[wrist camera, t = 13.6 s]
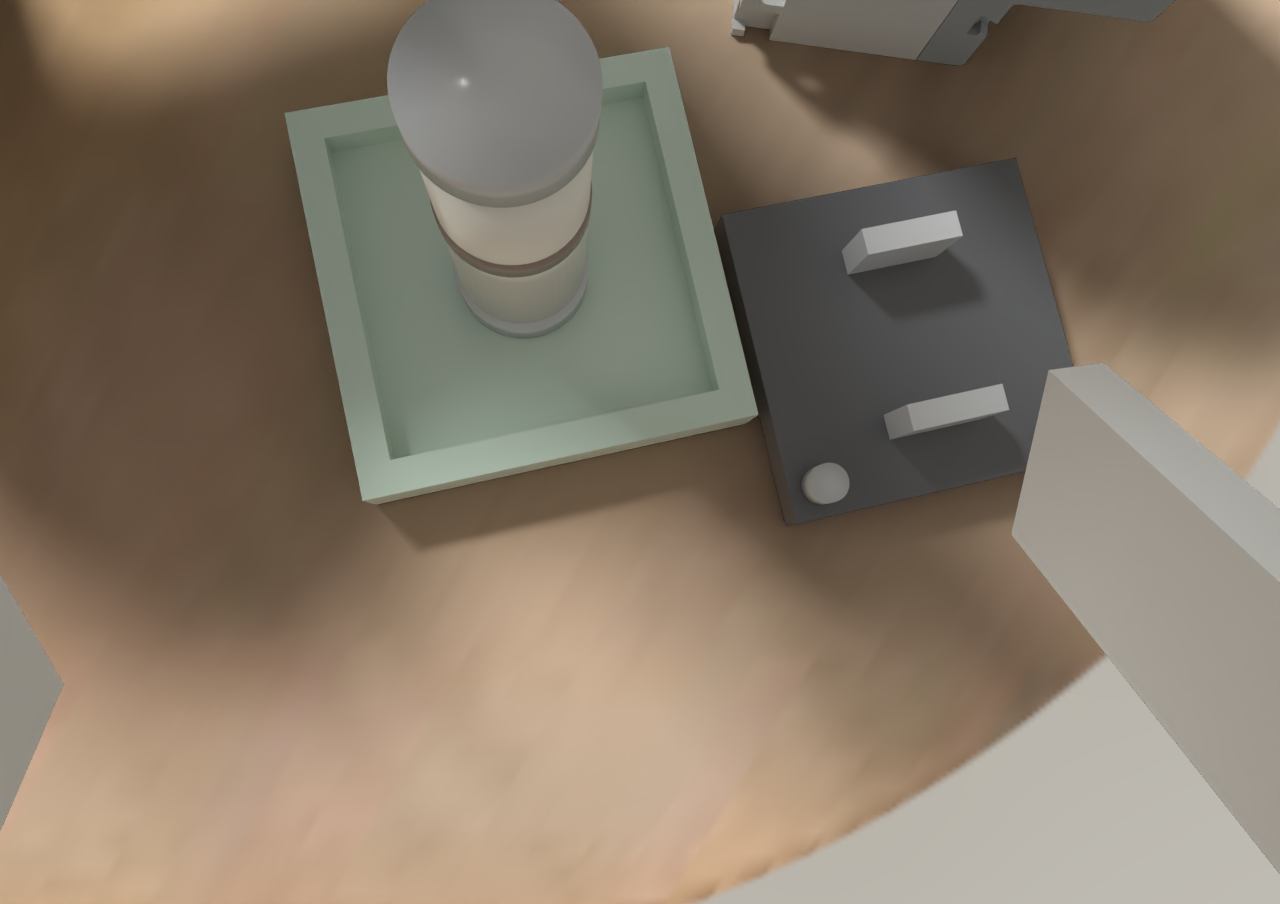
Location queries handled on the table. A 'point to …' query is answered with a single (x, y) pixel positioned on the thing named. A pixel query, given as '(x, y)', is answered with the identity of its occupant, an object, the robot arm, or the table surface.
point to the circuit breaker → (908, 23)
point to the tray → (511, 367)
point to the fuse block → (894, 335)
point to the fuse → (504, 150)
